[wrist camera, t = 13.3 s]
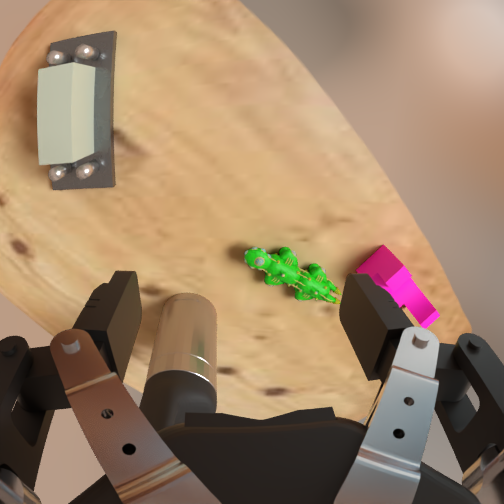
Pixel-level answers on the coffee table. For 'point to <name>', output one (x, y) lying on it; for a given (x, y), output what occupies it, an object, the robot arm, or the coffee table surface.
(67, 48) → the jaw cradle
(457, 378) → the robot arm
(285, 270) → the crocodile figurine
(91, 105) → the block
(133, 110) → the coffee table surface
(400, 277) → the toy block
